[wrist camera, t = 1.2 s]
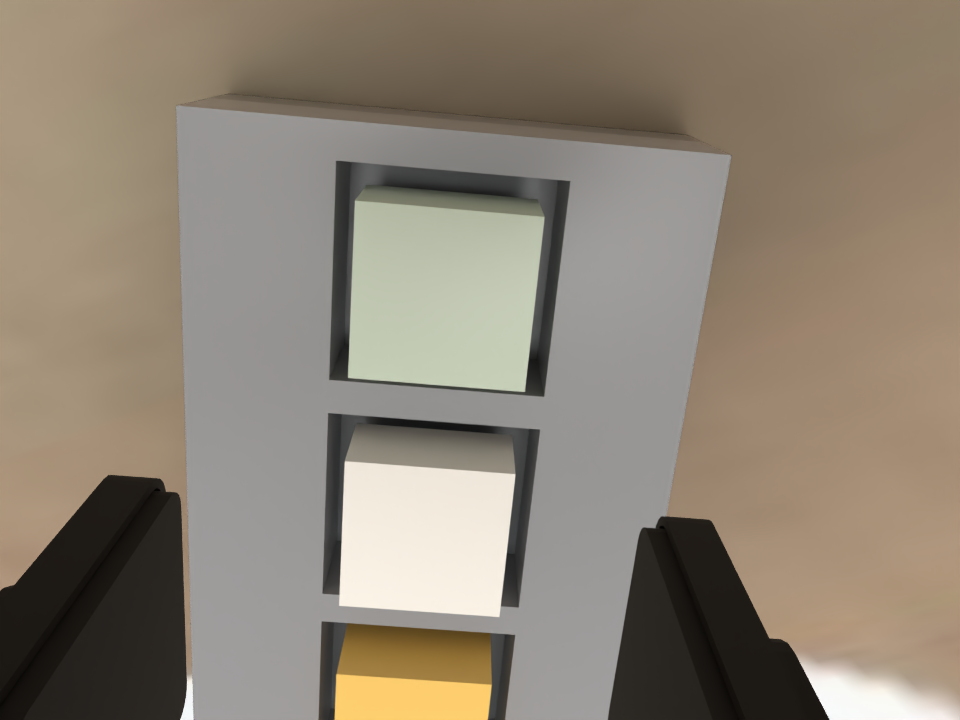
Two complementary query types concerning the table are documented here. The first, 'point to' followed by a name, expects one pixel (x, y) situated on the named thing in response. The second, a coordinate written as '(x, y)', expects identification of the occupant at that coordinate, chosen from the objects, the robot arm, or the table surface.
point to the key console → (426, 386)
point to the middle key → (426, 519)
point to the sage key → (443, 287)
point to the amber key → (413, 674)
